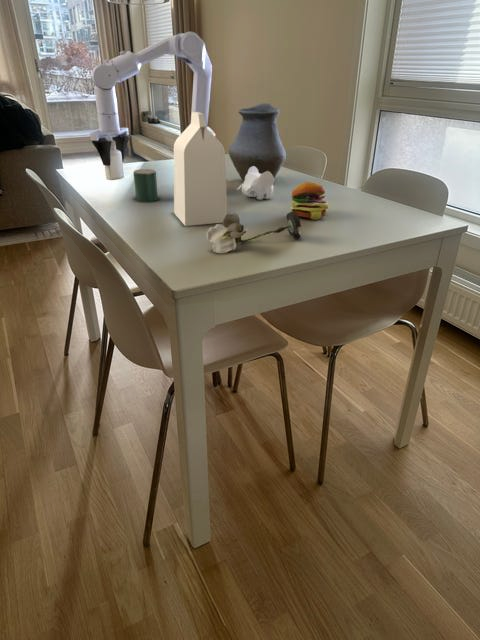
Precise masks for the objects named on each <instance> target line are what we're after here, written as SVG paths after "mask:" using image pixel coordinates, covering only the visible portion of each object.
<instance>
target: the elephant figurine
mask: <svg viewBox="0 0 480 640" xmlns="http://www.w3.org/2000/svg"><path fill="white" fill-rule="evenodd" d="M275 182H276V178H275V179H274V177H273V175H272V174H271V173H270V172H269V171H266V172H264V173H262V174H260V173H259V172H258V169H257V168H256V167H255V166H252V167H250V168H249V170H248V173H247V174H246V176H245V181H243V183H241V184H240V186H238V188H237V189H236V191H239V190H240V189H241V193H242V195H244V196H247V197H248V198H256V200H259V201H262V200H264V199H265V200H270V199H271V197H272V195H273V192H274V183H275Z"/></svg>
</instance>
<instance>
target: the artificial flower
mask: <svg viewBox="0 0 480 640" xmlns="http://www.w3.org/2000/svg"><path fill="white" fill-rule="evenodd" d="M285 218H286V221H287V226H283V227H278V228H277V229H274V230H270V231H266V232H264V233H260V234H257V235H255V236H252V237H251V238H247V239H242V236H244V235H245V234H246V233H247V231H248V229H249V227H246V228H245V229H244V225H243V224H241V222H240V221H241V220H240V216H239V214H237V213H231V214H230V213H227V214H226V215H225V218H224V220H223V223H215V225H214V226H210V227H209V228H208V230H207V231H206V240H207V241H208V242H209V243H213V244H212V249H213V252H214V253H217V254H227V253H228V252H229V251H235V250H236V248H237V244H238V243H239V244H240V243H242V244H243V243H246V242H248V241H252V240H255V239H257V238H260V237H262V236H266V235H269V234H273V233H274V234H276V233H277V234H279V233H282V232H283V231H285V230H287V232H288V234H289V236H290V237H292V238H294V239H297V240H298V239H300V238H301V237H302V234H301V233H299V228H301V227H302V224H301V220H300V216H298V215H297V214H296V212H294V211H292V210H291V212H290V211H289V212H288V213H286V217H285Z"/></svg>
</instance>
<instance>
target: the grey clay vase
mask: <svg viewBox="0 0 480 640" xmlns="http://www.w3.org/2000/svg"><path fill="white" fill-rule="evenodd" d="M237 113H239V115H240V116H241V117H242V120H241V123H240V126H239V128H238V132H237V133H236V136H235V138H234V139H233V140H232V142H231V143H230V144H229V147H228V156H229V159H230V160H231V162H232V164H233V166H234V169H235V170H236V172H237V174H238V175H239V177H240V179H241V180H242V182H244V181H245V176H246V174H247V173H248V170H249V168H250V167H252V166H255V167H256V168H257V169H258V172H259V173H260V174H262V173H264V172H266V171H269V172H270V173H271V174H272V175H273V177H274V179H275V180H276V177H277V175H278V174H279V172H280V170H281V168H282V166H283V164H284V162H285V161H286V158H287V152H286V149H285V147H284V145H283V141H282V140H281V137H280V133H279V128H278V124H277V123H278V122H277V120H278V116H279V115H280V113H281V110H280V109H279V108H275V107H274V106H273V104H271V103H260V104H257V105H254V106H251V107H246V108H240V109H239V110H238V112H237Z"/></svg>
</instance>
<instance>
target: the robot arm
mask: <svg viewBox="0 0 480 640" xmlns="http://www.w3.org/2000/svg"><path fill="white" fill-rule="evenodd" d="M165 55H169V56H176V57H177V58H178V59H180V60H182V61H183V62H184V63H186V65H187V66H188V67H189V68H190V70H191V71H192V72H193V80H192V81H193V82H192V94H191V114H190V116H192V112H199V113H202V114H204V120H205V127H206V128H207V127H208V126H209V125H208V124H209V123H208V122H209V113H210V111H209V109H210V101H211V99H210V98H211V85H212V73H213V65H212V63H211V59H210V57H209V55H208V52H207V50H206V43H205V42H204V40H203V39H202V38H201V37H200V36H199V35H198V33H196V32H194V31H187V32H184V33H183V32H180V33H177V34H175V35H171V36H167V37H164V38H162V39H160V40H158V41H156V42H155V43H152V44H151V45H148V46H147V47H145V48H144V49H141V50H140V51H138V52H136V53H134V52H132V51H130V50H127V51H125V50H122V51H120V52H119V55H118V56H116V57H113V58H111V59H107V58H106V59H104V61H103V62H104V63H103V64H99V65H96V66H95V67H94V68H93V69H92V71H91V76H90V79H91V82H92V83H93V85H94V93H95V95H94V97H95V106H96V114H97V121H98V128H97V129H96V131H93V132H90V133H89V137H90V141H91V143H92V145H93V146H94V148H95V149H96V151H97V153H98V155H99V157H100V159H101V162H102V165H103V166H105V165H106V166H110V163H111V160H110V148H111V143H112V141H108V139H109V138H111V136H112V139H113V140H114V141H115V143H116V149H117V150H119V151H120V152H121V154H122V162H123V163H124V161H125V154H126V149H127V145H128V143H129V141H130V137H129V135H130V132H129V127H121V125H120V118H119V117H120V116H119V108H118V100H117V95H116V85H117V83H122V82H124V81H126V80H128V79H129V78H132V77H134V76H135V75H137V74H140V70H141V67H142V66H143V65H146V64H148V63H150V62H152V61H154V60H156V59H159V58H161V57H163V56H165Z"/></svg>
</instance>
